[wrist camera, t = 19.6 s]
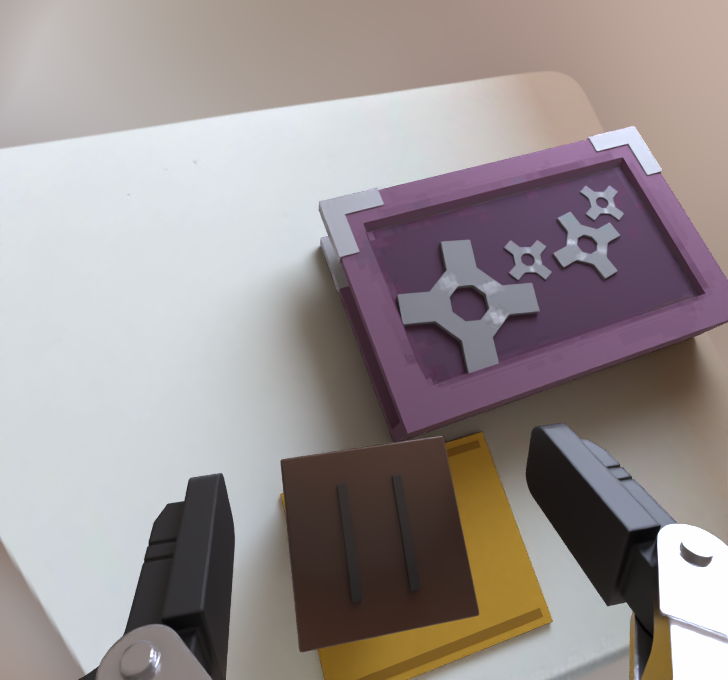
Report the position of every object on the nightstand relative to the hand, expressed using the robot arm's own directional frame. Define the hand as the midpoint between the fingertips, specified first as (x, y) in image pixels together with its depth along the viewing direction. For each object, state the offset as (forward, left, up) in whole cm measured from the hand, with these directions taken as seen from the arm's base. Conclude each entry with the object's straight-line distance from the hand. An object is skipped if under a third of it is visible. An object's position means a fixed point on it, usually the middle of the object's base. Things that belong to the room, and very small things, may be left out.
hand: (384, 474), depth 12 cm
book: (+19, +4, -20) cm, 28 cm away
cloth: (+1, -6, -20) cm, 21 cm away
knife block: (-1, -1, -19) cm, 20 cm away
